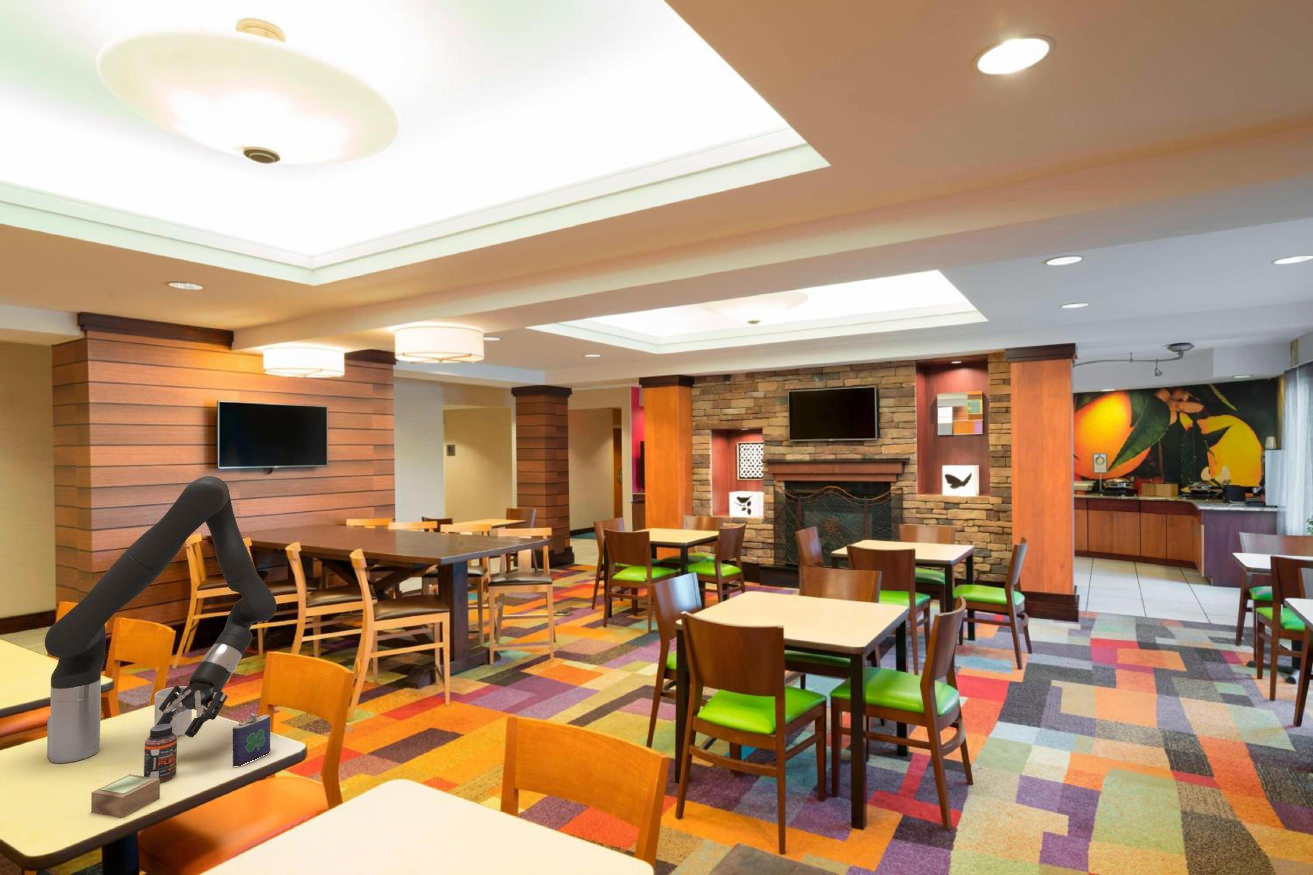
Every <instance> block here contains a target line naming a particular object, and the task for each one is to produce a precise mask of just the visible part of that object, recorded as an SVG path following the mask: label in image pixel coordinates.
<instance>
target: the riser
mask: <svg viewBox="0 0 1313 875" xmlns="http://www.w3.org/2000/svg"><path fill="white" fill-rule="evenodd" d="M90 798H91V799H90V800H91V803H90V804H91V805H90V806H91V807H90V808H91V813H93V814H99V815H100V814H101V815H104V816H111V817H116V818H117V817H118V818H122V819H123V818H125V817H127V816H128V815H130V814H132V813H134V812H136V811H138V810H141V809H142V808H144V807H146V806H148V805H149V804H151V803H153V802H155V801H157V800H159V799H160V798H161V782H160V779H157V778H151V777H144V775H137V774H132V773H131V774H128V775H125V776H123V777H121V778H119V779H117V780H115V781H113V782H111V783H109V784H106V785H104V786H102V787H100V788H98V789H96V790H93V791H91V797H90Z"/></svg>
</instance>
